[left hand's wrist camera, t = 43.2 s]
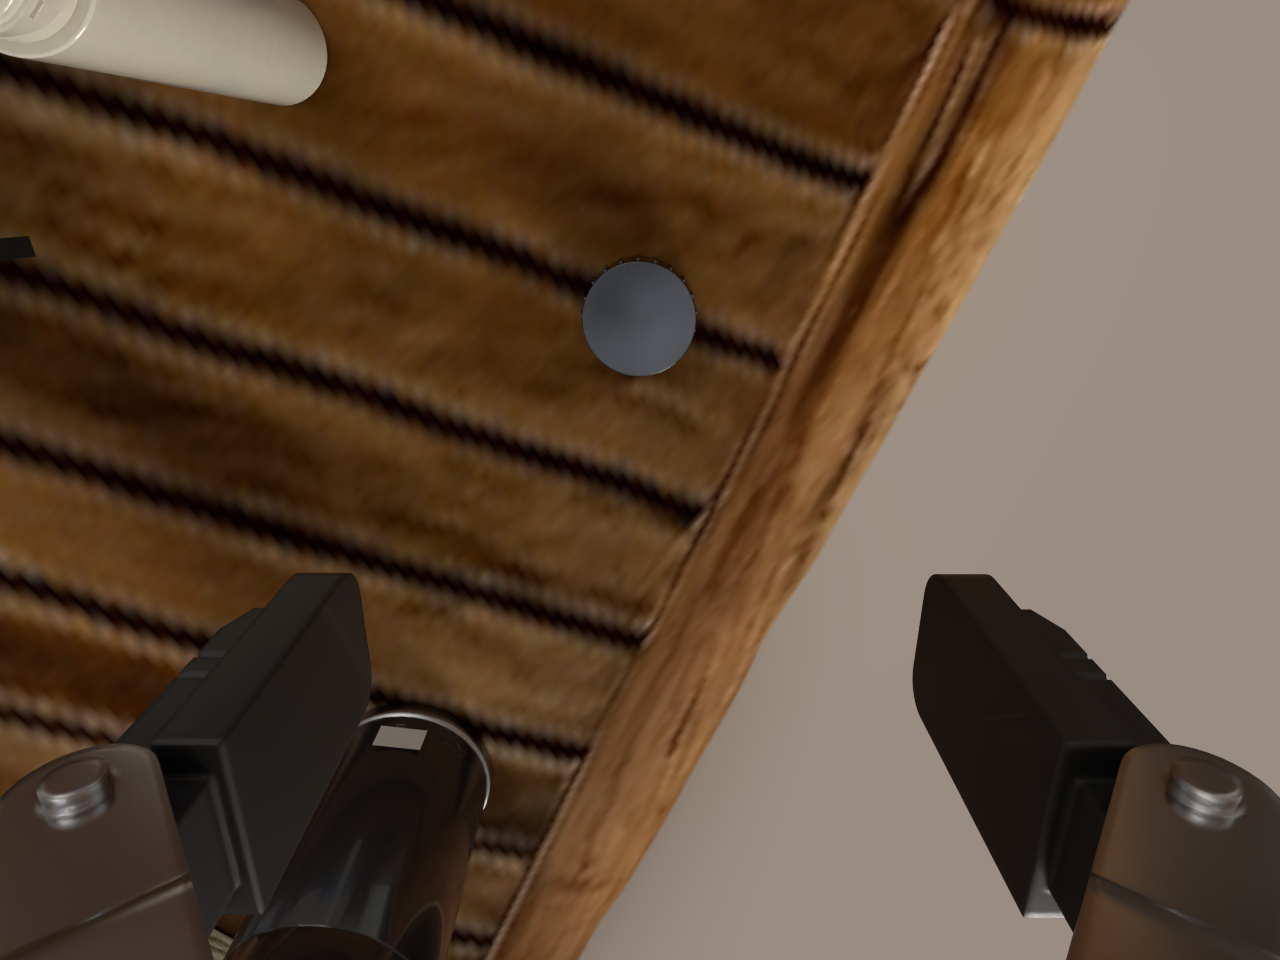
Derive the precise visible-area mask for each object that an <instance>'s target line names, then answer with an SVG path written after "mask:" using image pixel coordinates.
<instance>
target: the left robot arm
mask: <svg viewBox="0 0 1280 960" xmlns="http://www.w3.org/2000/svg"><path fill="white" fill-rule="evenodd" d="M370 691H371V664H370V657H369V650H368V643H367V637H366V630H365V623H364V616H363V609H362V603H361V596H360V590H359V585H358V582H357V580H356V578H355V576H354V575H353V574H351V573H296V574H294V575H293V576H292V577H291V578H290V579H289V580H288V581H287V582H286V583H285V585H284V586H283V587H282V588H281V589H280V590H279V591H278V593H277V594H276V595H275V596H274V597H273V598H272V600H271V601H270V602H269V603H268V604H267V605H266V607H265V608H254V609H252V610H250V611H249V612H247V613H245V614H244V615H242V616H240V617H239V618H237V619H235V620H234V621H232V622H230V623H229V624H227V625H225V626H224V627H222V628H220V629H219V631H218V632H217V633H216V634H215V635H214V636H213V637H212V638H211V639H210V640H209V641H208V643H207V644H206V645H205V646H204V647H203V648H202V649H201V650H200V651H199V652H198V657H194V658H193V659H192V660H191V661H190V662H189V663H188V664H187V665H186V666H185V668H184V669H183V670H182V671H181V672H180V677H179V678H174V680H173V681H172V682H171V683H170V684H169V685H168V686H167V687H166V688H165V689H164V690H163V691H162V693H161V694H160V695H159V696H158V697H157V698H156V699H155V700H154V701H153V702H152V703H151V705H150V706H149V707H148V708H147V709H146V710H145V711H144V712H143V713H142V714H141V715H140V716H139V718H138V719H137V720H136V721H135V722H134V723H133V724H132V725H131V726H130V727H129V728H128V730H127V731H126V732H125V733H124V734H123V735H122V736H121V737H120V738H119V739H118V740H117V742H116V743H115V744H107V745H99V746H95V747H90V748H86V749H83V750H79V751H76V752H73V753H70V754H67V755H65V756H62V757H60V758H57V759H55V760H53V761H51V762H49V763H47V764H45V765H43V766H41V767H39V768H38V769H36V770H34V771H32V772H31V773H29V774H28V775H26V776H25V777H23V778H22V779H20V780H19V781H18V782H17V783H15V784H14V785H13V786H12V787H11V788H9V789H8V790H7V791H6V792H5V793H4V794H3V795H2V797H1V798H0V960H214V958H213V955H212V951H211V948H210V944H209V940H208V938H209V937H210V935H211V933H212V931H213V930H214V928H215V926H216V924H217V922H218V921H219V919H220V917H221V915H246V917H245V919H244V921H243V923H242V924H241V926H240V928H239V930H238V932H237V934H236V936H235V938H234V940H233V941H232V943H231V945H230V947H229V949H228V951H227V953H226V955H225V957H224V958H223V960H446V958H447V954H448V950H449V946H450V942H451V938H452V934H453V930H454V926H455V922H456V918H457V914H458V910H459V905H460V901H461V897H462V893H463V889H464V885H465V881H466V877H467V873H468V869H469V865H470V861H471V857H472V853H473V849H474V845H475V840H476V837H477V833H478V829H479V825H480V821H481V817H482V812H483V809H484V807H485V805H486V803H487V799H488V796H489V792H490V788H491V783H492V766H491V761H490V758H489V755H488V753H487V750H486V748H485V747H484V745H483V743H482V742H481V740H480V739H479V738H478V737H477V735H476V734H475V733H474V732H473V731H472V730H471V729H470V728H469V727H467V726H466V725H465V724H463V723H462V722H461V721H459V720H458V719H456V718H454V717H452V716H450V715H449V714H446V713H444V712H442V711H439V710H436V709H433V708H429V707H425V706H419V705H410V704H399V705H389V706H384V707H380V708H376V709H374V710H371V711H368V712H366V709H367V706H368V702H369V698H370ZM913 692H914V698H915V703H916V707H917V710H918V713H919V715H920V717H921V719H922V721H923V723H924V725H925V727H926V729H927V731H928V733H929V735H930V737H931V739H932V741H933V743H934V745H935V747H936V749H937V750H938V752H939V754H940V756H941V758H942V760H943V762H944V764H945V766H946V768H947V770H948V772H949V774H950V776H951V778H952V780H953V782H954V784H955V785H956V787H957V789H958V791H959V793H960V795H961V797H962V799H963V801H964V803H965V805H966V807H967V809H968V811H969V813H970V815H971V817H972V819H973V820H974V822H975V824H976V826H977V828H978V830H979V832H980V834H981V836H982V838H983V840H984V842H985V844H986V846H987V848H988V850H989V852H990V854H991V855H992V857H993V859H994V861H995V863H996V865H997V867H998V869H999V871H1000V873H1001V875H1002V877H1003V879H1004V881H1005V883H1006V885H1007V886H1008V889H1009V890H1010V892H1011V894H1012V896H1013V898H1014V900H1015V902H1016V904H1017V906H1018V908H1019V910H1020V912H1021V914H1022V916H1023V917H1024V918H1065V919H1066V921H1067V923H1068V924H1069V926H1070V928H1071V930H1072V931H1073V937H1072V940H1071V944H1070V948H1069V951H1068V955H1067V958H1066V960H1280V798H1279V797H1278V795H1277V794H1276V793H1275V792H1274V791H1273V790H1272V789H1271V788H1269V787H1268V786H1267V785H1266V784H1265V783H1263V782H1262V781H1261V780H1259V779H1258V778H1256V777H1255V776H1254V775H1252V774H1251V773H1249V772H1248V771H1246V770H1244V769H1242V768H1241V767H1239V766H1237V765H1235V764H1233V763H1231V762H1229V761H1227V760H1225V759H1223V758H1220V757H1218V756H1215V755H1212V754H1210V753H1207V752H1204V751H1201V750H1197V749H1194V748H1189V747H1185V746H1181V745H1173V744H1170V743H1169V742H1168V741H1167V740H1166V739H1165V737H1164V736H1163V735H1162V734H1161V733H1160V732H1159V731H1158V730H1157V729H1156V728H1155V727H1154V726H1153V725H1152V723H1151V722H1150V721H1149V720H1148V719H1147V718H1146V717H1145V716H1144V715H1143V714H1142V713H1141V712H1140V711H1139V709H1138V708H1137V707H1136V706H1135V705H1134V704H1133V703H1132V702H1131V701H1130V700H1129V699H1128V698H1127V697H1126V695H1125V694H1124V693H1123V692H1122V691H1121V690H1120V689H1119V688H1118V687H1117V686H1116V685H1115V684H1114V683H1113V681H1112V680H1107V679H1106V674H1105V673H1104V672H1103V671H1102V670H1101V669H1100V667H1099V666H1098V665H1097V664H1096V663H1095V662H1094V661H1093V660H1092V659H1088V658H1087V653H1086V652H1085V651H1084V650H1083V649H1082V648H1081V647H1080V646H1079V645H1078V644H1077V643H1076V642H1075V641H1074V639H1073V638H1072V637H1071V636H1070V635H1069V634H1068V633H1067V632H1066V631H1065V630H1064V629H1062V628H1061V627H1059V626H1057V625H1056V624H1054V623H1052V622H1051V621H1049V620H1047V619H1046V618H1044V617H1042V616H1040V615H1039V614H1037V613H1035V612H1034V611H1032V610H1021V609H1020V608H1019V607H1018V606H1017V604H1016V603H1015V602H1014V601H1013V600H1012V599H1011V598H1010V596H1009V595H1008V594H1007V593H1006V592H1005V591H1004V589H1003V588H1002V587H1001V586H1000V585H999V584H998V583H997V581H996V580H995V579H994V578H993V577H992V576H990V575H987V574H934V575H932V576H931V577H930V578H929V580H928V582H927V584H926V588H925V593H924V599H923V606H922V613H921V619H920V626H919V633H918V639H917V646H916V653H915V659H914V666H913ZM365 712H366V713H365Z"/></svg>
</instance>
